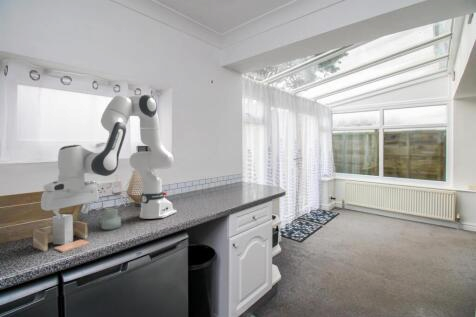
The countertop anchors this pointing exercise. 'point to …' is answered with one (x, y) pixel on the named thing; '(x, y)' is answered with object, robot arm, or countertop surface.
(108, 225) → the air freshener
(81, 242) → the tile
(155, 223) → the countertop surface
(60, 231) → the skincare box
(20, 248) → the countertop surface
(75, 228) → the open wooden frame
